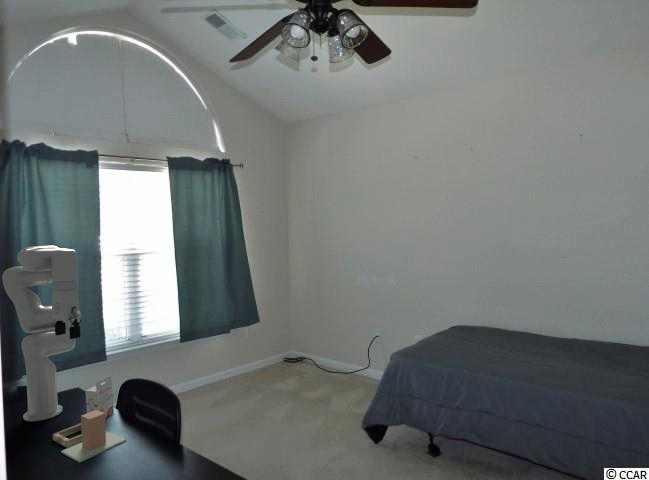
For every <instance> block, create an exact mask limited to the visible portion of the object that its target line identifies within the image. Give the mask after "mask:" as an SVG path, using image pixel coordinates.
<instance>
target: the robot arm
mask: <svg viewBox="0 0 649 480" xmlns="http://www.w3.org/2000/svg"><path fill="white" fill-rule="evenodd" d="M77 254H78V253H77V251H76V250H75V249H70V248H66V247H65V248H60V247H58V246H56V245H36V246H35V245H34V246H27V247H24V248H22V249H20V251H19V252H18V254H17V256H16V257H17V259H16V260H17V262H18V264H19V265H18V266H12V267H10V268H9V267H8V268H7V269H6V270H5V271H4V272H3V274H2V284H3V288H4V291H5V293H6V294H7V296H8V297H9V299H10V300H11V302H12V303H13V305H14V307H15V308H14V309H15V311H16V314H17V319H18V322H19V324H20V327H21V330H22V331H23V332H24V333H26V334H28V335H27V336H25V337H23V339H22V341H21V349H22V354H23V358H24V362H25V363H24V364H25V377H26V392H27V393H26V395H27V411H26V412H25V413H24V414H23V416H22V417H23V420H24V421H26V422H39V421H44V420H48V419H52V418H54V417H56V416H58V415H60V414H61V413H62V412H63V410H64V409H63V406H62V405H60V404H58V385H57V382H58V381H57V366H56V364H55V362H53V361H52V360H50V359H49V357H51V356H54V355H58V354H59V355H60V354H64V353H67V352H70V351H72V350H74V348H75V347H76V345H77V343H76V339H78V338H81V325H82V324H81V323H82V316H83V314H82V312H81V308H80V307H81V306H80V299H79V292H78V290H79V277H78V274H79V273H78V255H77ZM50 284H51V289H52V291H51V292H52V294H51V305H47V306H43V304H42V300H41V298H40V297H39V295H38V294H36V293H35V292H34V291H32V290H30V288H27V287H36V286H47V285H50Z"/></svg>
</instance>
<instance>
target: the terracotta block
mask: <svg viewBox="0 0 649 480" xmlns="http://www.w3.org/2000/svg"><path fill="white" fill-rule="evenodd" d="M80 423H81V428H82V431H81V434H82V446H83V447H85V448H86V449H88V450H90V451H91V450H93V449H95V448H97V447H100V446H102V445H104V444H106V432H107V431H106V418H105V413H103V412H100V411H98V410H95V411H92V412H90V413H87V412H86V413H85V414H82V415H80Z"/></svg>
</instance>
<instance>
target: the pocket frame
mask: <svg viewBox="0 0 649 480" xmlns="http://www.w3.org/2000/svg"><path fill="white" fill-rule="evenodd" d="M78 432H82V428H81V422H80V423H78V424H75V425H72V426H70V427H67V428H65V429H62V430H60V431H57V432H55V433H53V434H52V441H54V442H56V443H58V444H59V445H61V446H63V447H64V448H66V449H67V448H69V447H72V446H74V445H77V444H79V443H81V442H82V433H81V434H79V435H75V436H74V437H71V438H67V436H70V435H71V436H72V435H73V434H76V433H78Z"/></svg>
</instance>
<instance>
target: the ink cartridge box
mask: <svg viewBox="0 0 649 480" xmlns="http://www.w3.org/2000/svg"><path fill="white" fill-rule="evenodd" d="M112 382H113V381H112V376H111V375H108V376H106V377H104V378H101V379H100V380H99V381H97V382H95V385H94V386H92V387H91V388H88V389H86V390H85V407H86V414H87V413H90V412H92V411H95V410H98V411H100V412H103V413H105V419H106V418H108V417H109V416H111V415H112V414H114V410H115V409H114V393H113V390H114V389H113V383H112Z"/></svg>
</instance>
